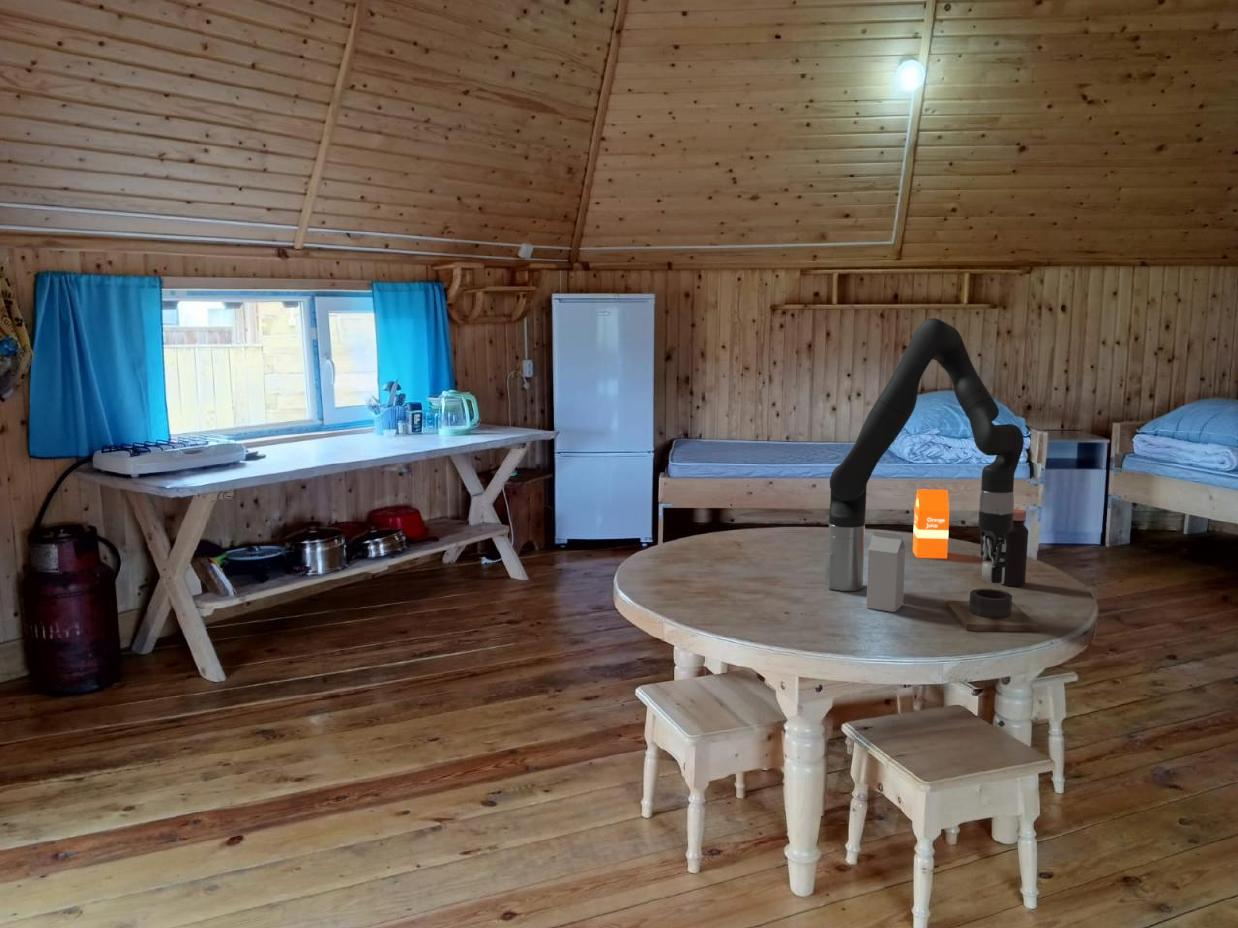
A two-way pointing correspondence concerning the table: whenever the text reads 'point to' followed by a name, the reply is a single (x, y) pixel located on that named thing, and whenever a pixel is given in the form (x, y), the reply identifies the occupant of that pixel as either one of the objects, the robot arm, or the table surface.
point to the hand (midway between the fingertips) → (992, 579)
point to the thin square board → (990, 612)
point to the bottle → (1016, 551)
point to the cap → (989, 573)
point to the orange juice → (931, 524)
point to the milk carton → (886, 571)
